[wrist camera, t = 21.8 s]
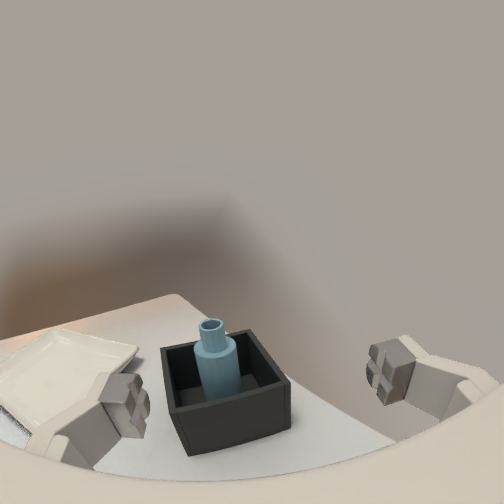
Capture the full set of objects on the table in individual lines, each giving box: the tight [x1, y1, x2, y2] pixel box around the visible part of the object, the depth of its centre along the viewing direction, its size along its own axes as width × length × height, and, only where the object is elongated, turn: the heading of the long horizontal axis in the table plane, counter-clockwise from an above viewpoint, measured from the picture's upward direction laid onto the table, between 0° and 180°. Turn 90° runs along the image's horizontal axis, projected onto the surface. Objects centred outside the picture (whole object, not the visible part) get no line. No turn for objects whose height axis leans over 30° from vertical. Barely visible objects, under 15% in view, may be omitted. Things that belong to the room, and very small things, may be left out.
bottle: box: [194, 319, 243, 402], centre depth 33 cm, size 5×5×14 cm
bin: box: [160, 329, 291, 456], centre depth 34 cm, size 14×14×9 cm
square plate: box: [0, 327, 139, 434], centre depth 37 cm, size 27×27×4 cm
